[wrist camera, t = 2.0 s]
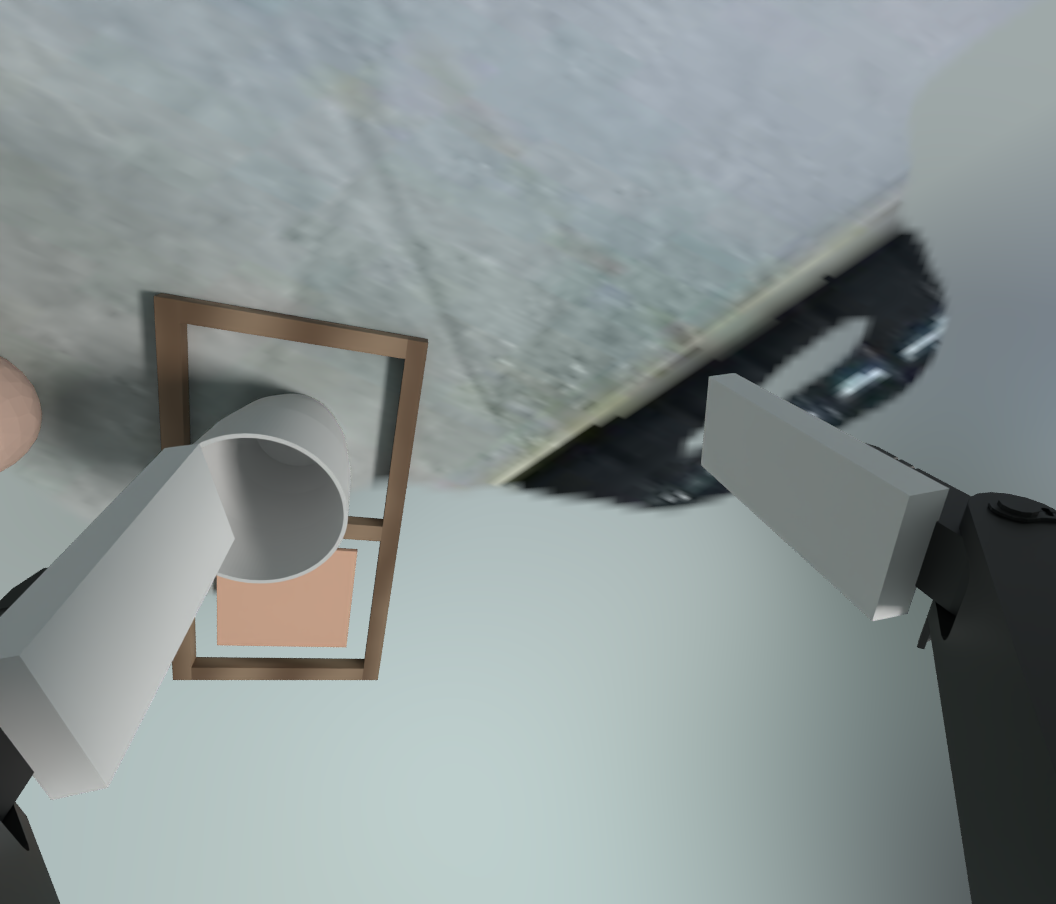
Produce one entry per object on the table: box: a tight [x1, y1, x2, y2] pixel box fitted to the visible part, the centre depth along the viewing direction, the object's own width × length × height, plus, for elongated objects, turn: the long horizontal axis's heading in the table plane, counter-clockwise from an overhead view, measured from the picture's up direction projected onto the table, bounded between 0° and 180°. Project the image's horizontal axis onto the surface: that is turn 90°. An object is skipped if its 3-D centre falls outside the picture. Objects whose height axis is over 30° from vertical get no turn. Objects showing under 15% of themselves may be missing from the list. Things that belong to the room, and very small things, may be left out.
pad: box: [217, 548, 357, 647], centre depth 39 cm, size 9×9×1 cm
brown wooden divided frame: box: [154, 293, 428, 680], centre depth 36 cm, size 14×28×1 cm, turn 168°
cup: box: [194, 393, 351, 583], centre depth 29 cm, size 8×8×10 cm
